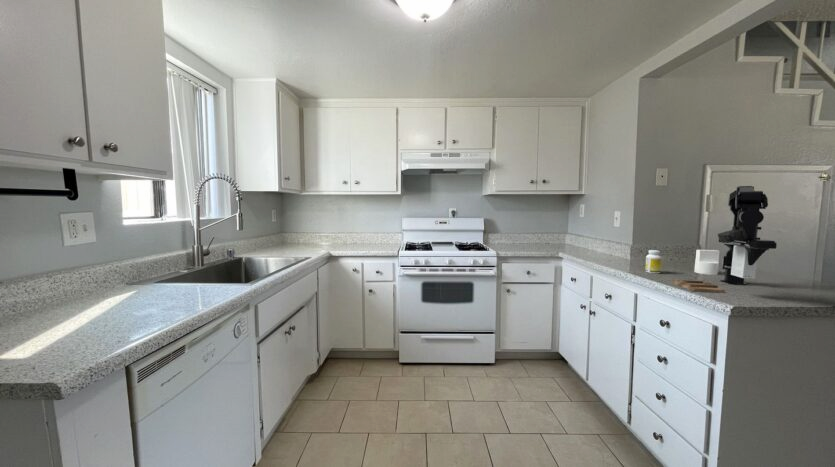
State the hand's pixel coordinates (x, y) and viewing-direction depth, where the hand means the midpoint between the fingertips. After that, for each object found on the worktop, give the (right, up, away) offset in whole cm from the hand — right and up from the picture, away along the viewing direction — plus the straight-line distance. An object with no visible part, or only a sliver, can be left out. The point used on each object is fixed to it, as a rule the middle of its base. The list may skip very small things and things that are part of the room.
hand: (743, 263), depth 121 cm
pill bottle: (-3, -9, +43) cm, 44 cm away
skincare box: (0, -5, +1) cm, 5 cm away
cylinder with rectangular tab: (+24, -9, +42) cm, 49 cm away
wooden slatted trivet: (-7, -12, +13) cm, 18 cm away
